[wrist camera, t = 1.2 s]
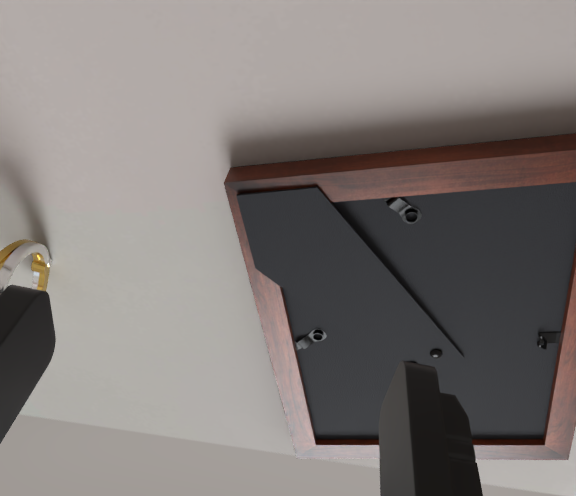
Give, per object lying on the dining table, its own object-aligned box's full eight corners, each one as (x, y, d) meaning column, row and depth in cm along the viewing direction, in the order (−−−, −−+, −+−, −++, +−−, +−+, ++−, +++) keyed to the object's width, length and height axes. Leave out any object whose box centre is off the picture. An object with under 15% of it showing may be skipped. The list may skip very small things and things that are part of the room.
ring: (67, 303, 38) (7, 394, 32) (22, 290, 38) (-48, 379, 31) (71, 225, 34) (3, 313, 28) (21, 210, 34) (-60, 295, 27)
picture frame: (230, 167, 30) (298, 439, 44) (222, 185, 29) (296, 461, 43) (623, 128, 26) (561, 439, 41) (639, 146, 25) (569, 463, 39)
